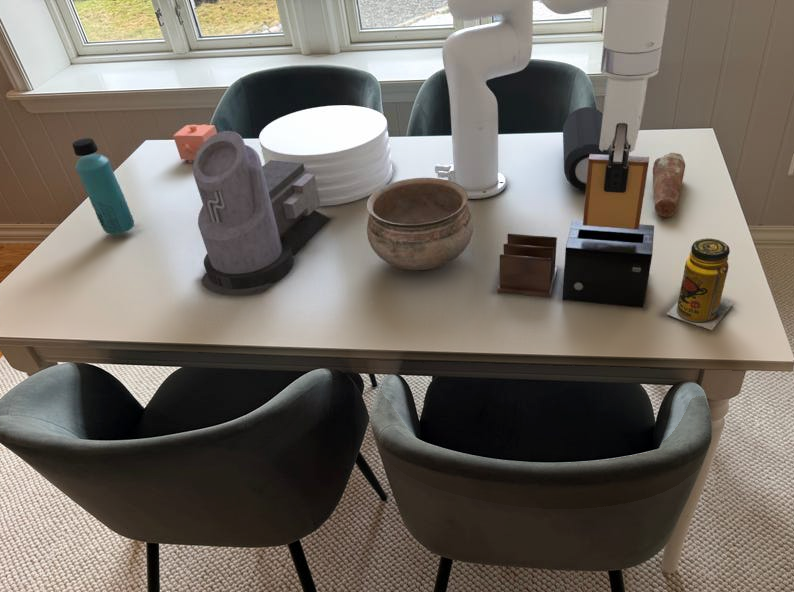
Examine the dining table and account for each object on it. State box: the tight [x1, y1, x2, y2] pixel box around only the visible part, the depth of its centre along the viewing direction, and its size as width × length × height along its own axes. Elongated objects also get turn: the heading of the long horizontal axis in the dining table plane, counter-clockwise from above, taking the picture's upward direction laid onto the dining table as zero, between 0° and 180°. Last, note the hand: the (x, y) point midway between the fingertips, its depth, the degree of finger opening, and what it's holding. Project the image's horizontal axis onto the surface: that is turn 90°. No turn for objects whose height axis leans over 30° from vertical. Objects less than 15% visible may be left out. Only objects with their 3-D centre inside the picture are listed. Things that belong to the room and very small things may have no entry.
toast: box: [582, 154, 650, 230], centre depth 101 cm, size 8×2×11 cm, turn 74°
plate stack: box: [258, 104, 394, 207], centre depth 150 cm, size 28×28×12 cm
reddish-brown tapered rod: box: [652, 152, 686, 218], centre depth 133 cm, size 6×19×6 cm, turn 161°
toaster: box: [561, 219, 655, 309], centre depth 109 cm, size 13×10×10 cm
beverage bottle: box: [71, 137, 135, 235], centre depth 133 cm, size 6×7×20 cm
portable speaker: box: [562, 106, 610, 193], centre depth 144 cm, size 26×10×10 cm, turn 172°
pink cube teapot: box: [172, 124, 218, 163], centre depth 165 cm, size 8×12×8 cm, turn 168°
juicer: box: [192, 130, 331, 297], centre depth 122 cm, size 30×16×24 cm, turn 158°
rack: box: [496, 233, 558, 298], centre depth 113 cm, size 9×8×7 cm
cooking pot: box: [366, 177, 474, 271], centre depth 119 cm, size 25×19×12 cm
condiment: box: [666, 237, 734, 331], centre depth 102 cm, size 7×8×12 cm
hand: (615, 186), depth 100 cm, fingers closed on toast, 1 cm apart
